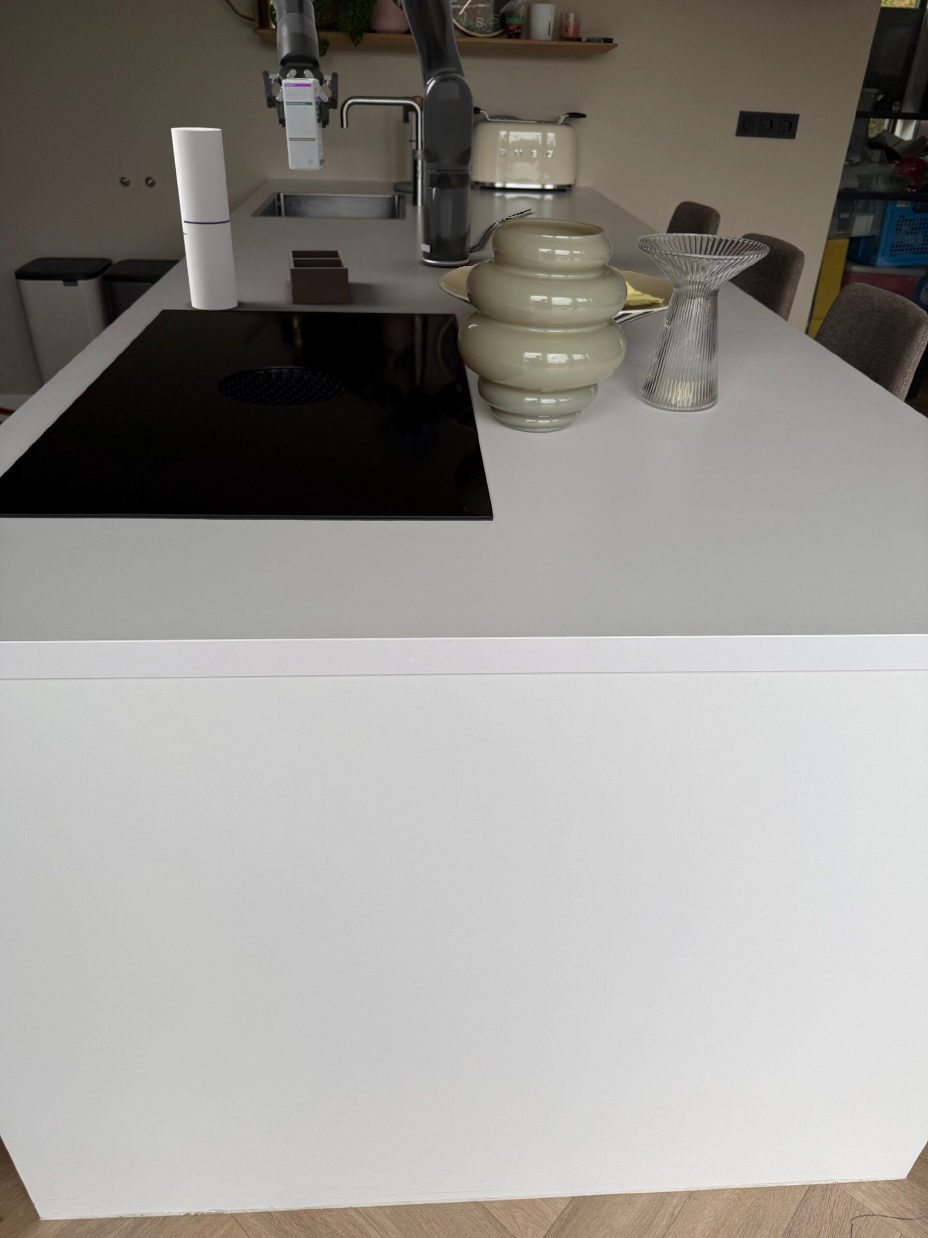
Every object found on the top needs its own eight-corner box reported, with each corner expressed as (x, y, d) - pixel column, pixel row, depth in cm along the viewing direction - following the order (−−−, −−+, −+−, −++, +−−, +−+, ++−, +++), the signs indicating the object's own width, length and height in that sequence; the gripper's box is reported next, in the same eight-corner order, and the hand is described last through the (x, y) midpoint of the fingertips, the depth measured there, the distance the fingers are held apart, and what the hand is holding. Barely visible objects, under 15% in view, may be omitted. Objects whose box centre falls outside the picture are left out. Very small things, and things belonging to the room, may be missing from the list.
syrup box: (320, 170, 168) (315, 78, 160) (288, 169, 168) (281, 77, 160) (325, 167, 172) (320, 78, 165) (293, 166, 173) (287, 77, 165)
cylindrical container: (211, 311, 143) (192, 130, 130) (182, 304, 146) (160, 127, 134) (247, 304, 148) (231, 129, 135) (217, 298, 151) (200, 126, 139)
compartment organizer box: (290, 282, 165) (288, 249, 162) (341, 281, 166) (340, 249, 163) (292, 303, 150) (290, 268, 147) (349, 303, 151) (347, 267, 148)
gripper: (256, 29, 164) (261, 107, 160) (337, 31, 166) (344, 108, 162) (259, 63, 171) (265, 139, 167) (337, 65, 173) (344, 140, 170)
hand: (304, 123), depth 165 cm, fingers closed on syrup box, 6 cm apart
